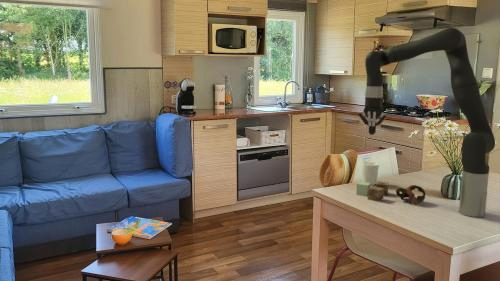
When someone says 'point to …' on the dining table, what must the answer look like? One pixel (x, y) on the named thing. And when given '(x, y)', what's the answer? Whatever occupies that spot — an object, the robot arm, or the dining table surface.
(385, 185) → the walnut block one
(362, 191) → the plain block
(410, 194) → the brown looped ring sculpture
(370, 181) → the white cup
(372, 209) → the dining table surface
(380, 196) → the walnut block two
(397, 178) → the dining table surface
